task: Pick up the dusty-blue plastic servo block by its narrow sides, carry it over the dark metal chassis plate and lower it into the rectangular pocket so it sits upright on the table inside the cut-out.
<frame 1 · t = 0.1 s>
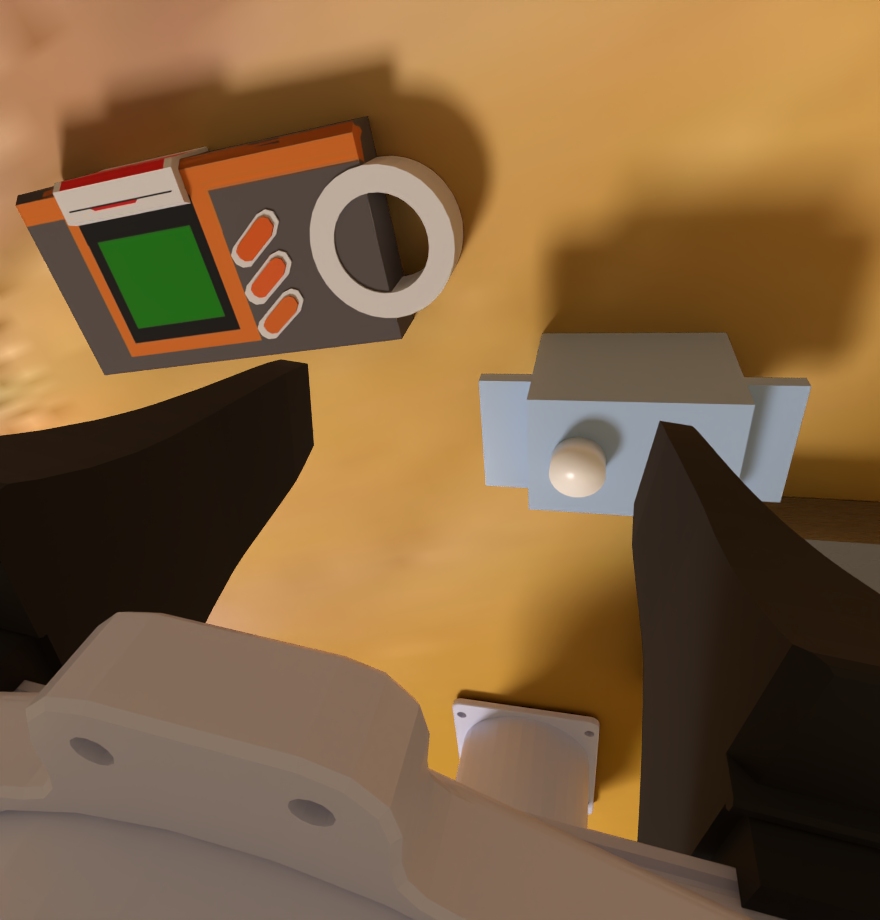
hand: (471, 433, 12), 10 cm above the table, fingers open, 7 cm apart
servo: (626, 384, 22), on the table
chassis: (833, 616, 25), on the table
electronic device: (269, 244, 22), on the table
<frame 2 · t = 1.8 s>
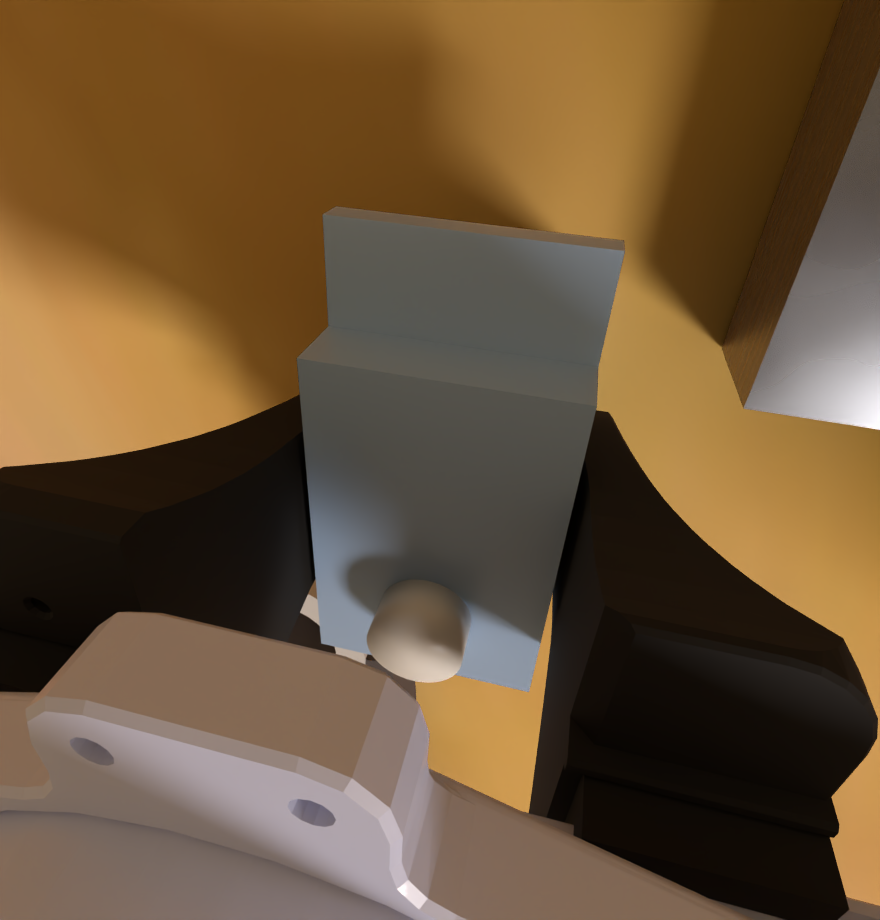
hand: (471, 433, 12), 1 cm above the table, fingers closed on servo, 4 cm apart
servo: (482, 400, 14), on the table, touching gripper
electronic device: (334, 683, 22), on the table
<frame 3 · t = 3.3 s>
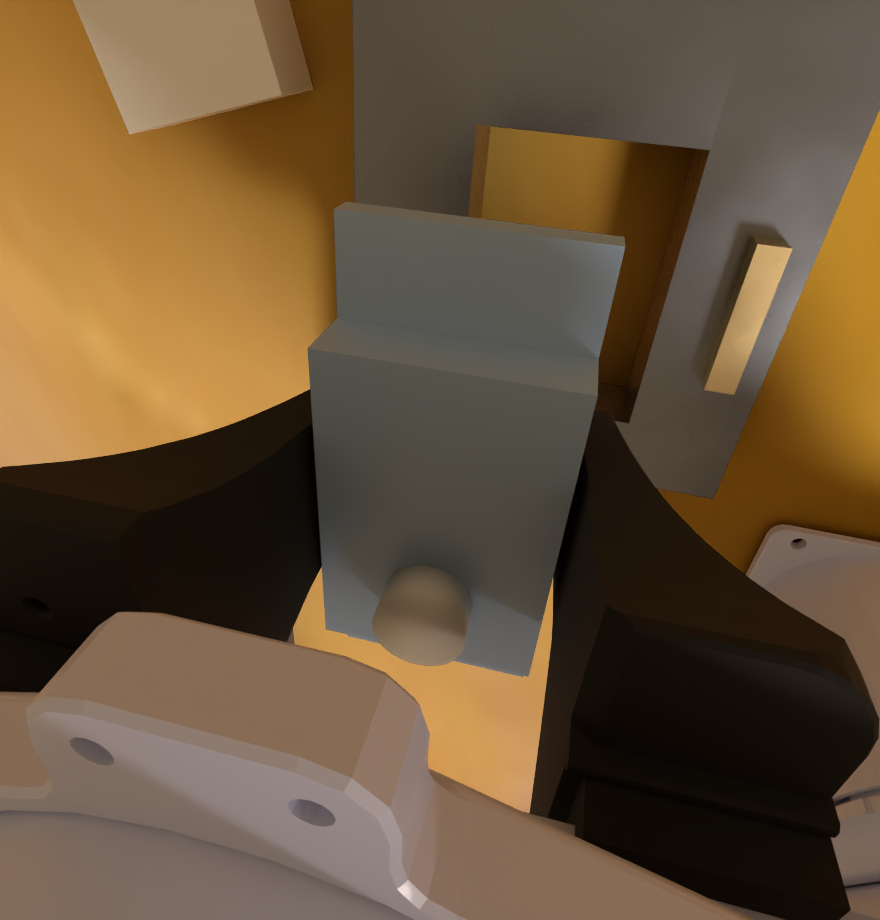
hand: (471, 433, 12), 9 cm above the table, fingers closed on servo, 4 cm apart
servo: (484, 393, 14), point 7 cm above the table, touching gripper
chassis: (572, 231, 18), on the table
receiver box: (221, 37, 18), on the table
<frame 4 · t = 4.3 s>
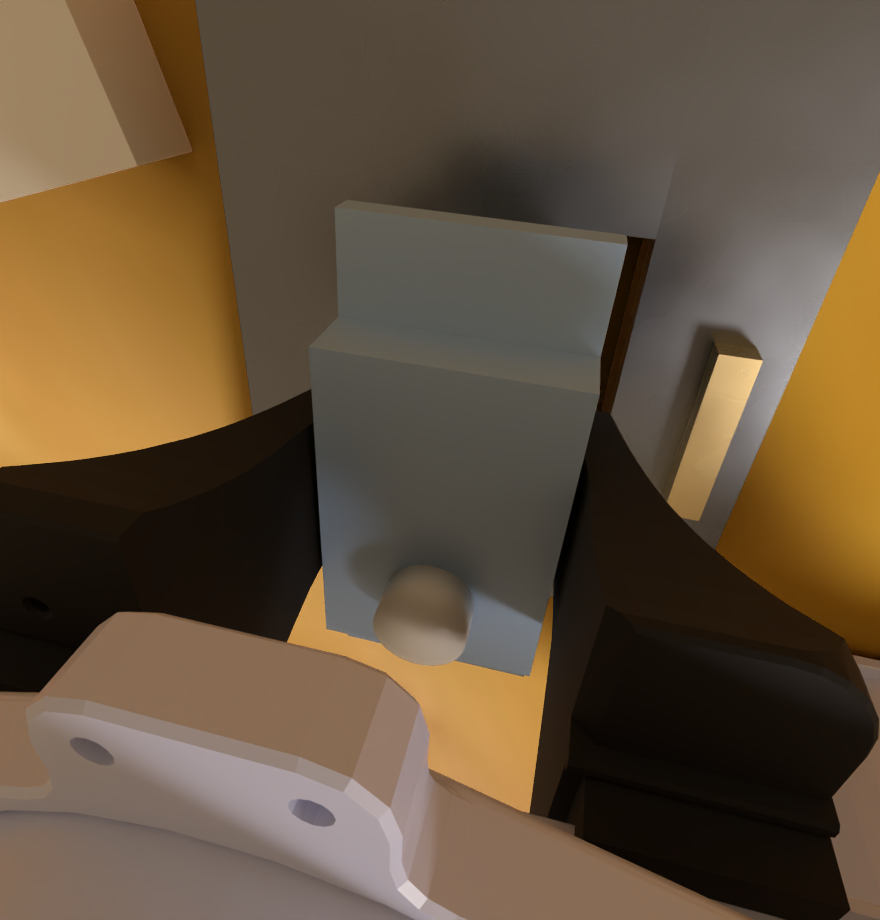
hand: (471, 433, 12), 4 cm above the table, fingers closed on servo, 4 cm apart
servo: (485, 392, 14), point 2 cm above the table, touching gripper
chassis: (506, 315, 15), on the table
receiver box: (83, 92, 15), on the table
when the fingers open (3 cm above the table, at t = 5.0 s): servo drops 1 cm, resting in chassis.
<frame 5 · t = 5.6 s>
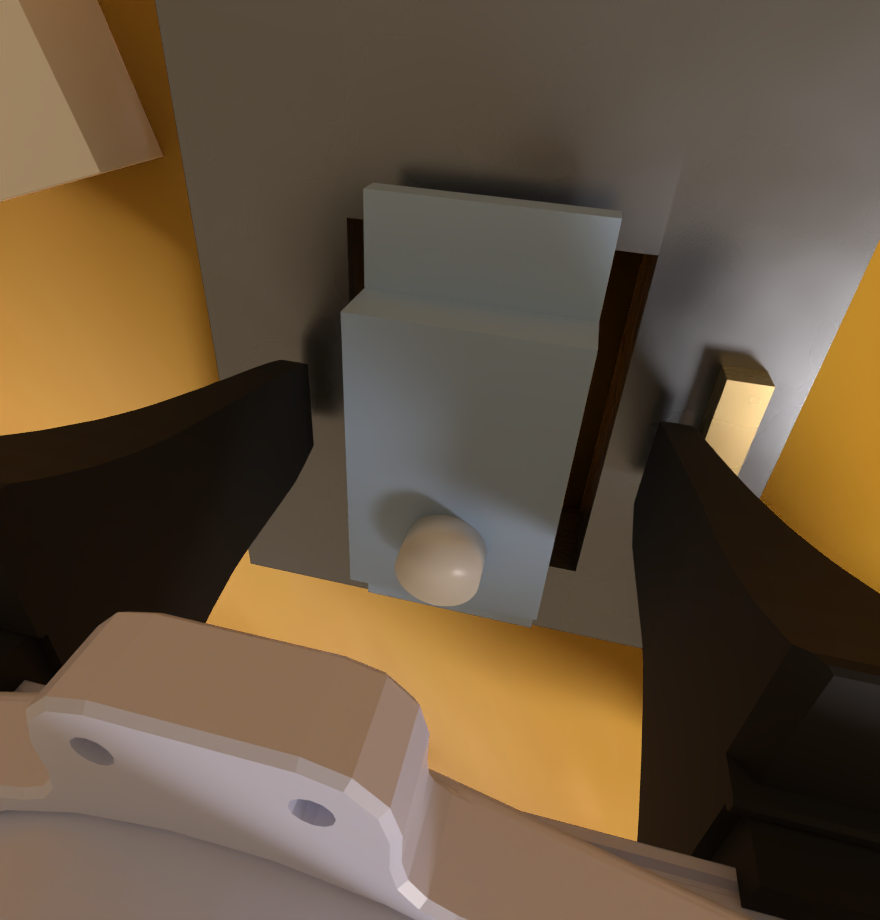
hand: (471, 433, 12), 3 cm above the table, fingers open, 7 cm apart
servo: (494, 367, 15), resting in chassis
chassis: (498, 331, 14), on the table
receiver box: (46, 94, 14), on the table
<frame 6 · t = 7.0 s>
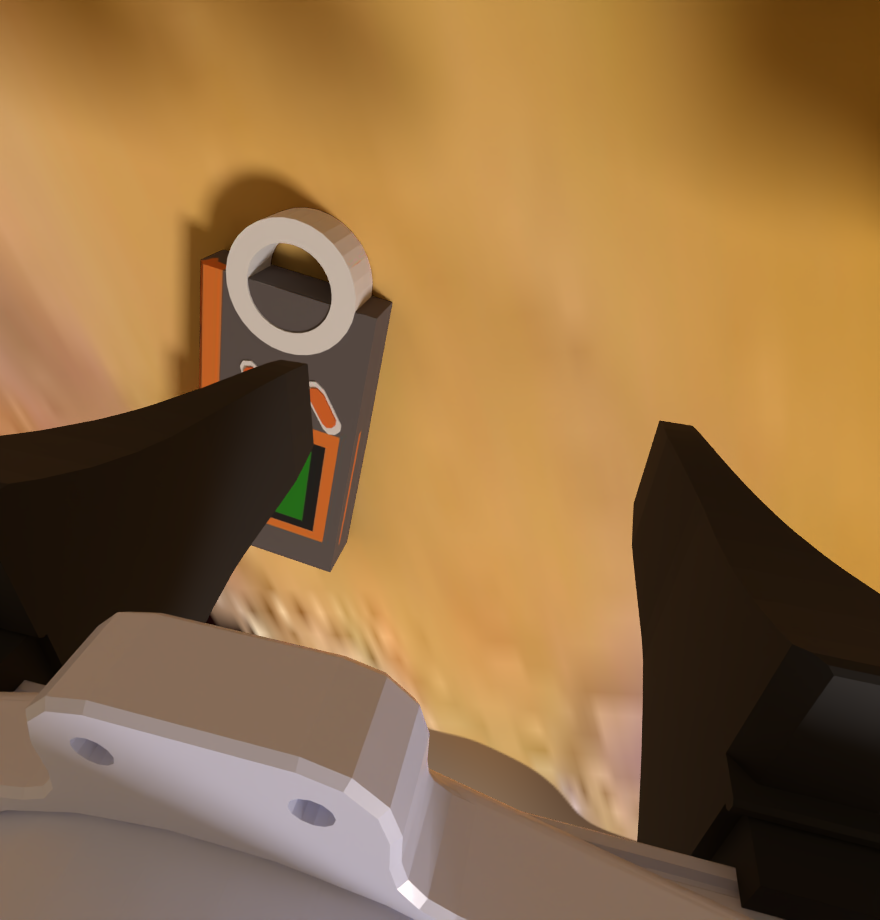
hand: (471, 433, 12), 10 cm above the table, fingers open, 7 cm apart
electronic device: (302, 386, 26), on the table
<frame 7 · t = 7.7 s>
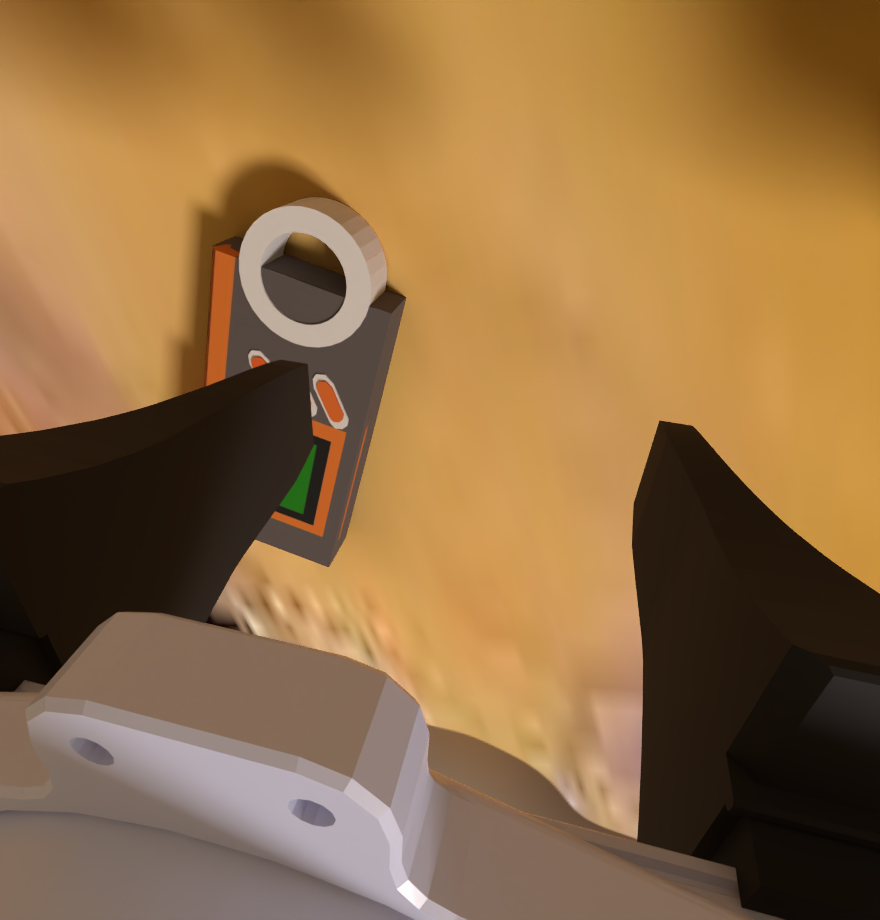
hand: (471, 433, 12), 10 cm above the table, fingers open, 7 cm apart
electronic device: (309, 378, 25), on the table
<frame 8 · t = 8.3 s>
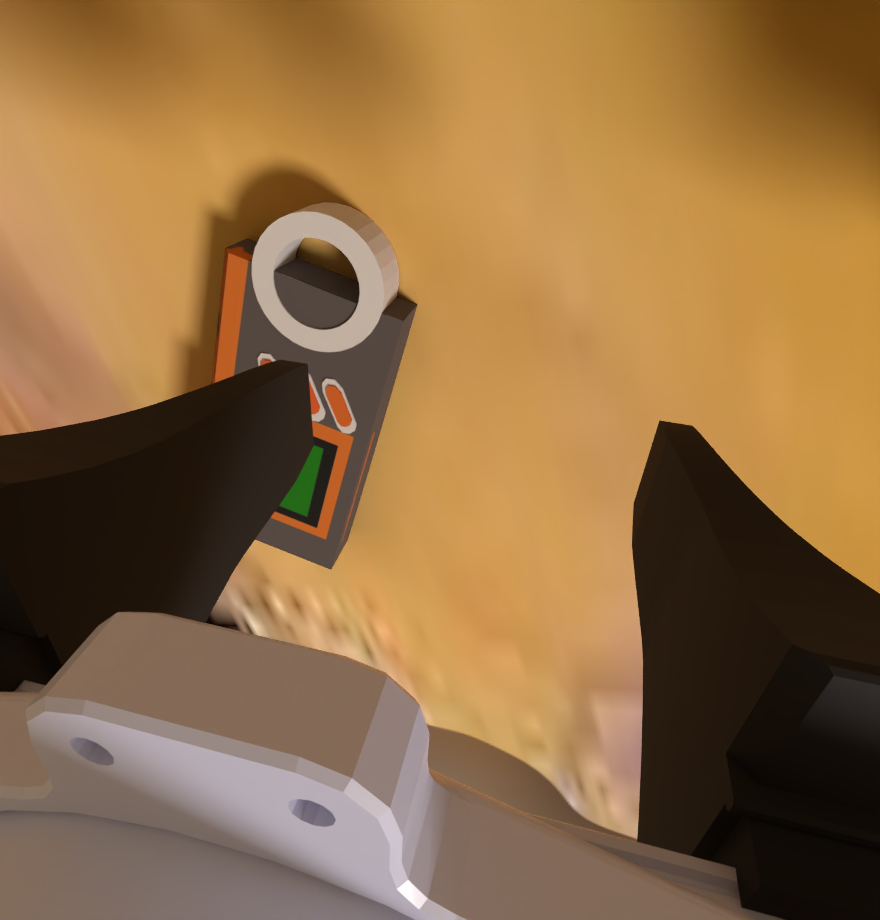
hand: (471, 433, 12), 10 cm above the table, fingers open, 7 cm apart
electronic device: (316, 381, 25), on the table
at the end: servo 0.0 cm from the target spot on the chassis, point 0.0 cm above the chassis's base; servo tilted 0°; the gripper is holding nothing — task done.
